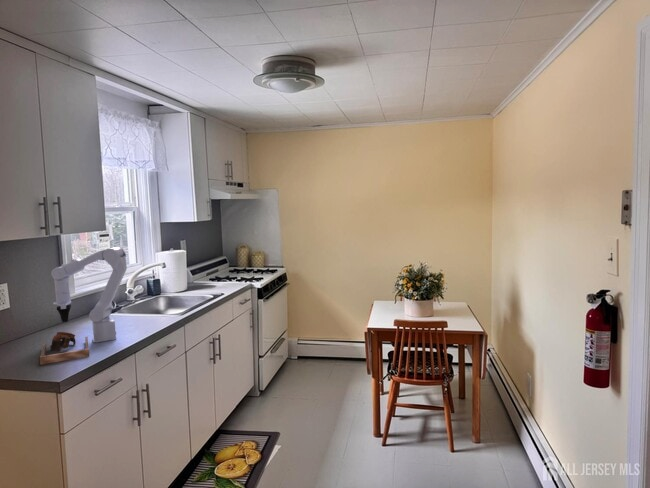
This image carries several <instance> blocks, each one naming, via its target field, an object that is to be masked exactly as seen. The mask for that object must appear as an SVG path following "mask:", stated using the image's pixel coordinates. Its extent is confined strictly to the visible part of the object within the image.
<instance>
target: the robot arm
mask: <svg viewBox="0 0 650 488" xmlns="http://www.w3.org/2000/svg"><path fill="white" fill-rule="evenodd" d="M126 258H127V253H126V252H125V250H124V248H122V247H121V246H114V247H110V248H106V249H103V250H99V251H96V252H94V253H93V254H90V255H89V256H86V257H85V258H82V259H80V258H72V259H71V260H70V261H69V262H67V263H62V264H61V266H57V267H55V268H53V269H52V270H51V277H52V278H53V279H54V281H53V282H54V291H55V302H53V304H52V305H54V306H56V305H57V306H56V310H57V311H58V313H59V314H58V315H59V317H60V320H61V322H62V323H67V322H68V321H69V313H70V310H71V308H72V305H71V304H72V300H71V289H70V287H71V286H70V277H71V276H72V275H75V274H78V273H80V272H82V271H83V270H84V269H85V267H86V266H87V265H88V266H89V265H90V264H93V263H95V262H97V261H105V262H106V264H107V263H108V265H109V266H110V267H111V269H112V272H111V274H110V276H109V278H108V281H107V283H106V285H105V288H104V290H103V292H102V294H101V297H100V299H99V301H97V303H96V304H95V305H94V307H93V309H91V310H90V312H89V314H88V316H89V320H90V321H92V323H91V324H92V334H93V337H92V343H94V344H95V343H100V342H108V341H113V340H116V339H117V336H116V335H117V330H116V324H115V323H116V321H115V319H114V318H113V319H110V316H111V315H112V307H113V301H114V298H115V296H116V293H117V291H118V290H119V287H120V285H121V282H122V280H123V278H124V276H125V273H127V272H126V271H127V269H128V268H127V259H126Z"/></svg>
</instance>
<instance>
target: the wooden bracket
mask: <svg viewBox="0 0 650 488" xmlns="http://www.w3.org/2000/svg"><path fill="white" fill-rule="evenodd" d="M84 341H85V349H84V348H83V349H78V350H71V351H66V352H61V353H55V354H54V353H53V354H47V355H46V353H47V349H48V347H47V342H44V343H43V344H42V349H41V353H40V356H39V365H47V364H53V363H58V362H64V361H70V360H69V359H71V360H75V359H74V358H76V359H81V357H82V358H87V356H88V357H90V349H89V339H88V336H85V337H84Z"/></svg>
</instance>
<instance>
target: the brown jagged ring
mask: <svg viewBox="0 0 650 488" xmlns="http://www.w3.org/2000/svg"><path fill="white" fill-rule="evenodd" d="M75 336H76V335H75V334H74V333H71V332H66V331H58V332H57V333H56V334H55V335H54V336H53V337H52V339H51V344H50V346H49V349H50V351H55V352H57V351H58V352H61V350H62V349H68V348H69V345H70V342H72V343H73V346H75V345H76V344H77V343H76V342H77V341H76V338H75Z"/></svg>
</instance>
